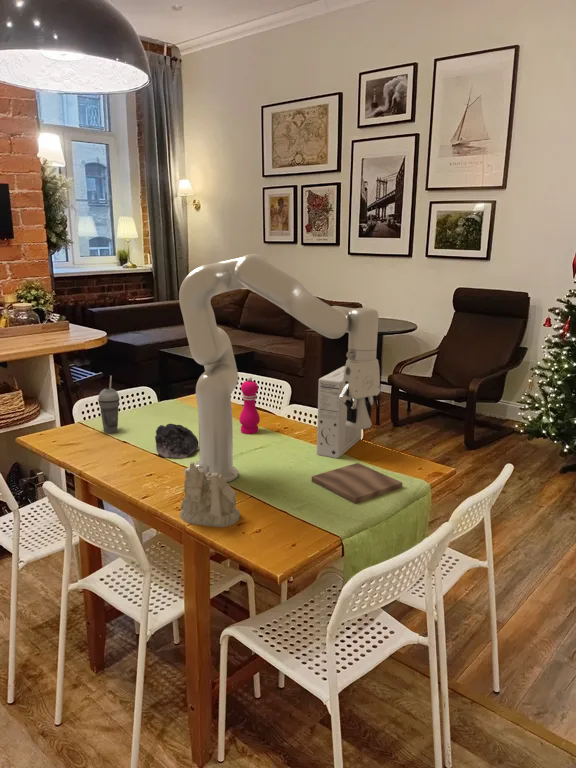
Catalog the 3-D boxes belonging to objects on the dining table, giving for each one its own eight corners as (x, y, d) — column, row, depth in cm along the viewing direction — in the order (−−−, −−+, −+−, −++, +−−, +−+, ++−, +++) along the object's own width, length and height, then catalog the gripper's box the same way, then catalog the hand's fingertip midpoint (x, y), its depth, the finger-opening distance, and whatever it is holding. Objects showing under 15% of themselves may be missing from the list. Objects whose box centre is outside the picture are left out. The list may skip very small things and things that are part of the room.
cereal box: (340, 435, 209) (343, 365, 203) (361, 438, 206) (364, 368, 200) (316, 454, 190) (318, 378, 184) (338, 458, 187) (341, 381, 181)
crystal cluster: (207, 453, 193) (206, 423, 191) (175, 461, 182) (174, 429, 181) (179, 447, 201) (178, 418, 200) (147, 454, 190) (146, 424, 189)
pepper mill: (259, 434, 209) (259, 379, 204) (238, 434, 209) (238, 378, 204) (260, 428, 216) (260, 374, 211) (240, 427, 216) (240, 374, 211)
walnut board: (355, 503, 156) (355, 498, 156) (311, 481, 170) (311, 476, 170) (402, 487, 167) (402, 482, 166) (357, 467, 180) (357, 462, 180)
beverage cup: (102, 428, 213) (98, 373, 208) (123, 427, 214) (120, 373, 209) (98, 434, 206) (94, 378, 201) (119, 434, 207) (116, 378, 202)
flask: (363, 431, 159) (365, 395, 157) (340, 426, 163) (341, 391, 161) (376, 425, 165) (378, 390, 162) (353, 420, 169) (355, 386, 167)
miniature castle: (227, 530, 141) (226, 469, 138) (167, 521, 146) (165, 462, 144) (254, 507, 155) (253, 451, 153) (198, 499, 161) (197, 445, 158)
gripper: (348, 360, 151) (345, 429, 156) (394, 354, 161) (390, 418, 166) (328, 355, 157) (326, 421, 162) (374, 349, 167) (371, 411, 172)
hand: (358, 419), depth 164 cm, fingers closed on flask, 4 cm apart
